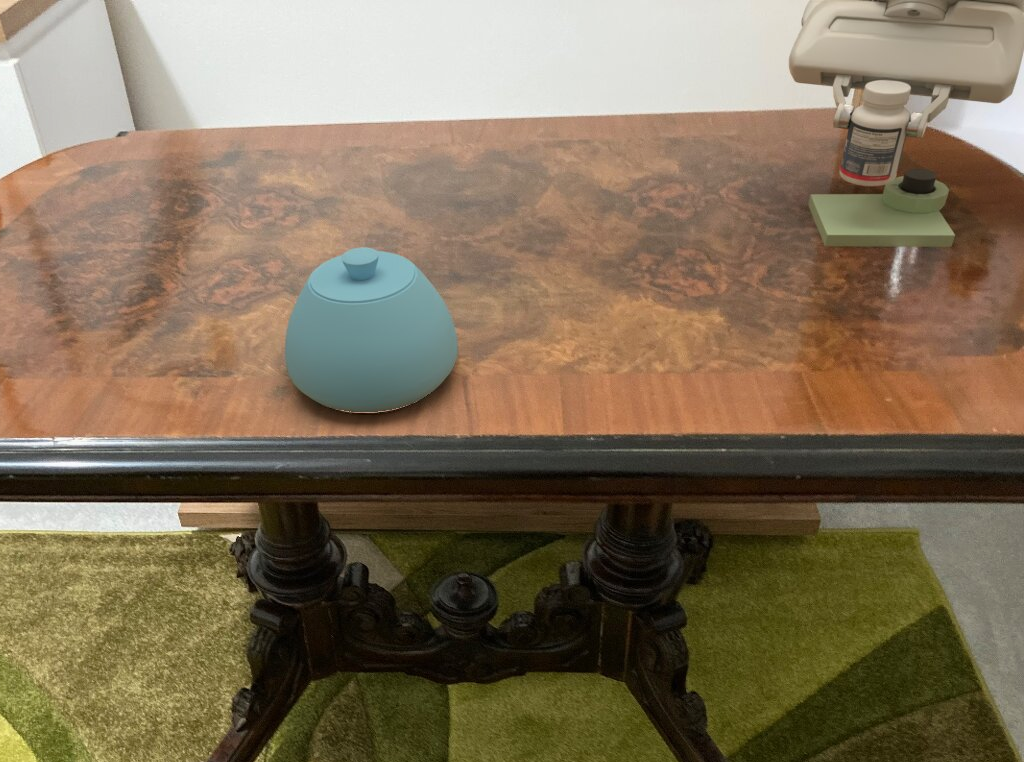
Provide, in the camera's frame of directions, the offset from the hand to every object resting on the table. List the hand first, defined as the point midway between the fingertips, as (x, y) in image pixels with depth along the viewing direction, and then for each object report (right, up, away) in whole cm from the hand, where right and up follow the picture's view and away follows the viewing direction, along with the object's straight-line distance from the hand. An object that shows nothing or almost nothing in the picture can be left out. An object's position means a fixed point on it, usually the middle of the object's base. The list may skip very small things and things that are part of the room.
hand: (877, 130), depth 89 cm
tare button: (+8, -3, +8) cm, 12 cm away
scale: (+4, -7, +8) cm, 11 cm away
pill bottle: (+1, -4, +4) cm, 5 cm away
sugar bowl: (-48, -24, -7) cm, 54 cm away
